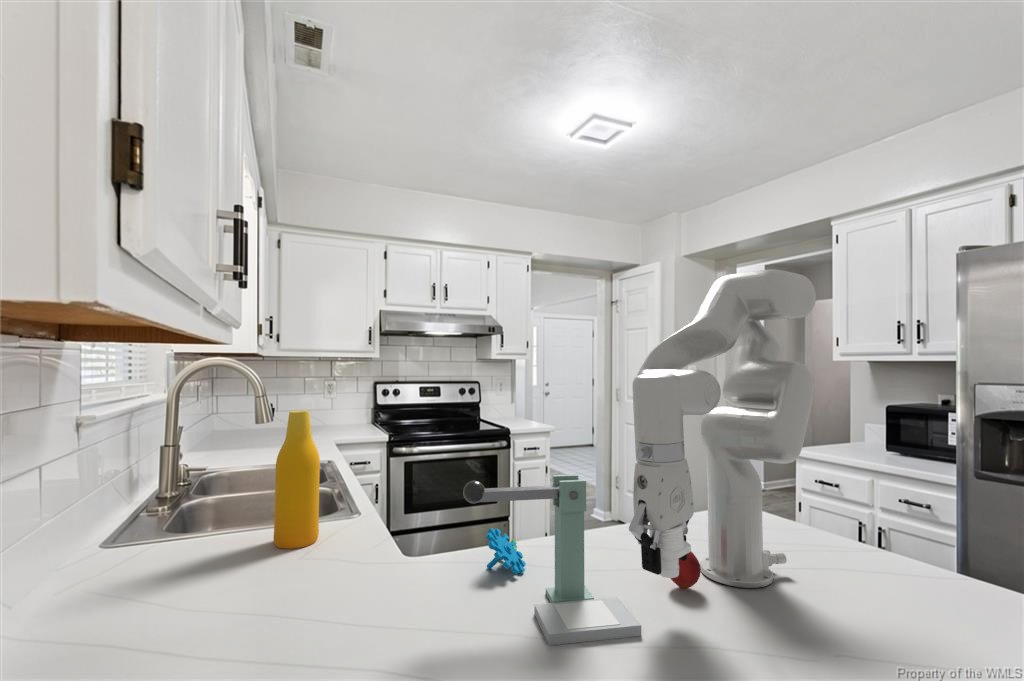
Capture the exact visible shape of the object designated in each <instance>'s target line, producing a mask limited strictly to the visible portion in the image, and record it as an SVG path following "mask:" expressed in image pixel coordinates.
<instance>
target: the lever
mask: <svg viewBox="0 0 1024 681" xmlns="http://www.w3.org/2000/svg"><path fill="white" fill-rule="evenodd" d="M462 494H463V498H464V500H465V501H467V502H468V503H470V504H478V503H491V502H493V503H495V502H510V501H515V502H516V501H517V502H518V501H531V500H533V501H534V500H551V499H552V500H553V499H559V485H555V486H553V485H536V486H513V487H511V486H510V487H509V486H508V487H490V488H489V487H487V488H486V487H485V486H484V485H483V483H481V482H480V481H477V480H471V481H469V482H467V483H466V484H465V485H464V487H463V492H462Z"/></svg>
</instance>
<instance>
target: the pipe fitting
mask: <svg viewBox="0 0 1024 681" xmlns="http://www.w3.org/2000/svg"><path fill="white" fill-rule="evenodd" d="M648 525H651V524H650V522H649V523H648ZM648 530H649V532H648V533H649V534H648V535H649V536H650V537H652V531H653V530H650V529H648ZM683 534H684V533H683V524H682V523H681V524H679V525H677V526H675V527H673V528H670V529H668V530H666V531H663V532H660V535H659V540H658V545H657V547H658V548H660V551H661V574H659V576H661V577H663V578H667V579H670V578H675V577H677V576H678V575H679V565H678V564H679V558H681V557H682V556H684V555H686V554H687V553H689V552H692V545H691V544H690V543H689V542H687V540H686V541H684V535H685V534H684V535H683Z"/></svg>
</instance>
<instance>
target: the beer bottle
mask: <svg viewBox="0 0 1024 681" xmlns="http://www.w3.org/2000/svg"><path fill="white" fill-rule="evenodd" d="M286 426H287V427H286V434H285V437H284V438H285V439H284V441H283V444H282V445H281V447H280V449H279V451H278V454H277V458H276V462H275V479H274V480H275V483H274V484H275V485H274V486H275V491H274V519H273V520H274V521H273V522H274V523H273V526H274V527H273V543H274V545H275V547H277V548H279V549H283V550H293V549H295V550H296V549H300V548H305V547H309V546H310V545H313V544H314V543H316V542H317V540H318V539H319V532H320V531H319V530H320V529H319V526H320V524H319V523H320V521H319V519H320V518H319V517H320V516H319V515H320V514H319V512H320V476H321V475H320V472H321V470H320V468H321V458H320V454H319V453H320V452H319V451H318V448H317V446H316V444H315V441H314V439H313V435H312V428H311V427H312V425H311V414H310V411H309V410H291V411H289V414H288V419H287V425H286Z"/></svg>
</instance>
